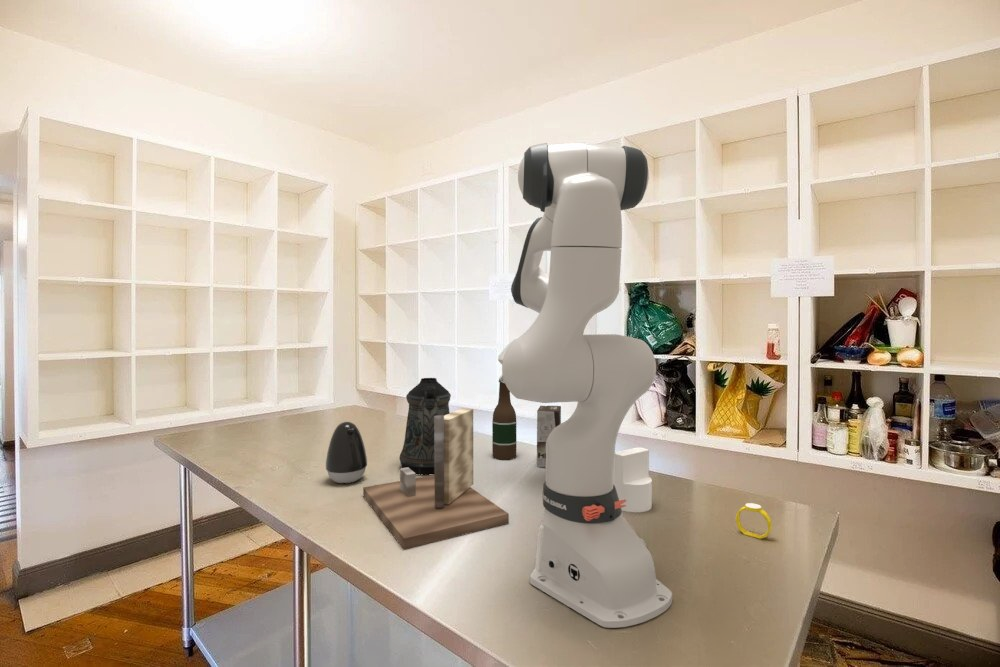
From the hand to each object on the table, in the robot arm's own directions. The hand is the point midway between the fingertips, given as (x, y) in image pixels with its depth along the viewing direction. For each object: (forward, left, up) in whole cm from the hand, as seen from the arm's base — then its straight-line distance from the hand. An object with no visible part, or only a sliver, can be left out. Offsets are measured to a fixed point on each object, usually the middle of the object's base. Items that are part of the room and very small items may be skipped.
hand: (514, 386), depth 116 cm
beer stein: (+25, +12, -25) cm, 37 cm away
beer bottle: (+24, -11, -25) cm, 37 cm away
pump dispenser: (+26, +35, -25) cm, 50 cm away
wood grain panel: (-3, +18, -23) cm, 29 cm away
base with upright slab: (-22, -17, -25) cm, 38 cm away
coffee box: (+12, -19, -25) cm, 34 cm away
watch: (-45, -26, -25) cm, 58 cm away
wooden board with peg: (-2, +23, -25) cm, 34 cm away
